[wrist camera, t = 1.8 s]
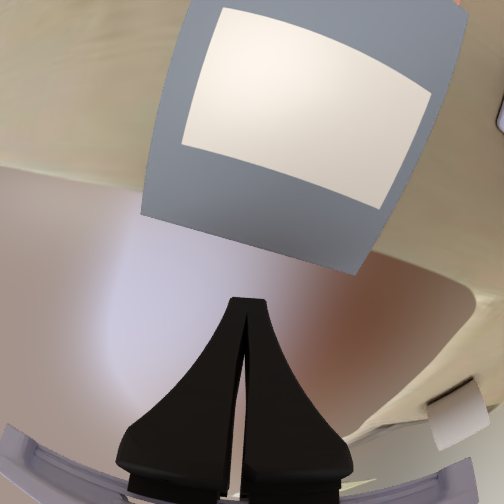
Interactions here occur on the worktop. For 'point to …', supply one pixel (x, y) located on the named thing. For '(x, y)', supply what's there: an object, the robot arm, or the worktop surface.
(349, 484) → the worktop surface
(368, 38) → the plate
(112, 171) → the worktop surface
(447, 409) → the toilet paper
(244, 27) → the white rectangular block
